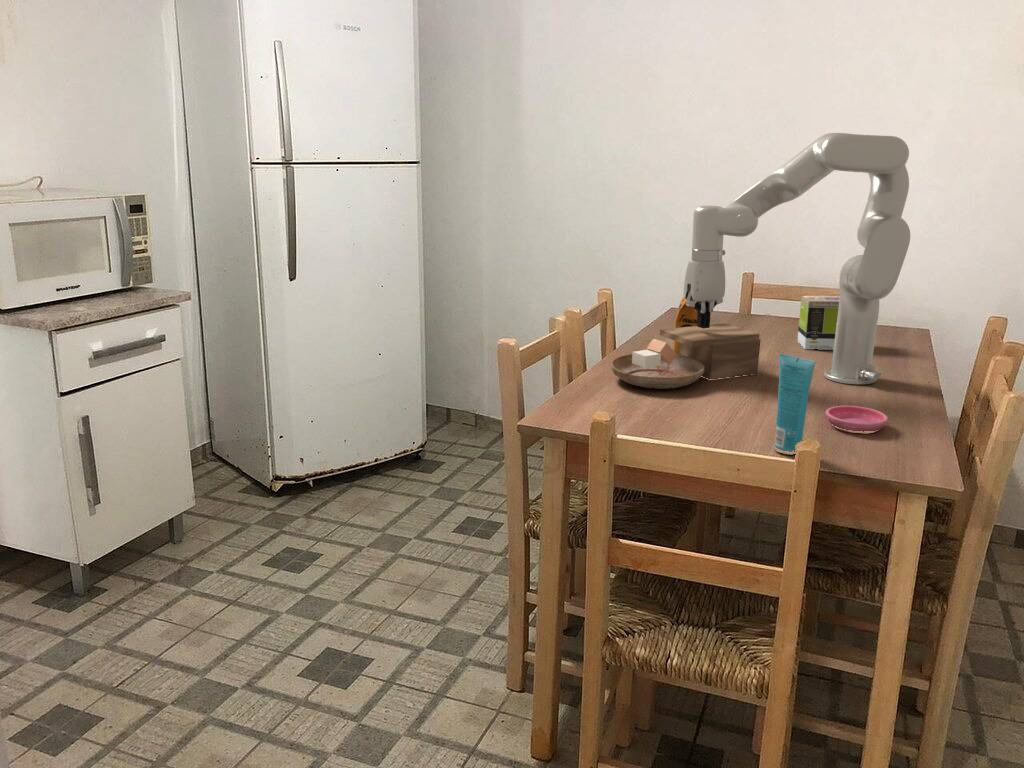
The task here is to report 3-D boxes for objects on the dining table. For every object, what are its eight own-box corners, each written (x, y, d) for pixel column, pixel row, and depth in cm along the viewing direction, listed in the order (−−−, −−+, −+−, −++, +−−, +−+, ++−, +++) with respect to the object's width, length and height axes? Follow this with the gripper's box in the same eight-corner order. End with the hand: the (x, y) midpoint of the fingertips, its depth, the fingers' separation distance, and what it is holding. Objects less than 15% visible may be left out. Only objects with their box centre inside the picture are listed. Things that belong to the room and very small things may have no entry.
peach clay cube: (666, 342, 209) (659, 352, 209) (676, 354, 212) (670, 363, 212) (653, 338, 213) (646, 348, 213) (663, 349, 216) (657, 359, 216)
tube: (810, 453, 165) (821, 358, 160) (799, 459, 162) (810, 363, 156) (774, 443, 170) (784, 351, 164) (763, 450, 166) (773, 356, 161)
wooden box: (757, 374, 220) (761, 333, 217) (689, 383, 211) (692, 341, 208) (723, 362, 232) (726, 323, 229) (657, 370, 223) (660, 329, 220)
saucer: (817, 429, 179) (819, 415, 178) (832, 414, 189) (833, 401, 188) (879, 441, 172) (881, 427, 172) (891, 425, 182) (893, 411, 181)
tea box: (847, 343, 255) (853, 295, 250) (856, 351, 245) (863, 301, 241) (796, 342, 256) (801, 294, 252) (803, 350, 246) (809, 300, 242)
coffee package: (667, 359, 234) (672, 281, 228) (675, 349, 245) (680, 274, 239) (703, 363, 230) (709, 283, 224) (710, 353, 242) (715, 276, 235)
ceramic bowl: (594, 374, 219) (594, 356, 218) (672, 367, 227) (673, 349, 226) (637, 400, 198) (638, 379, 197) (721, 390, 206) (723, 371, 205)
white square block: (645, 356, 207) (644, 367, 207) (661, 353, 209) (660, 365, 210) (632, 351, 211) (631, 363, 211) (647, 349, 213) (647, 360, 214)
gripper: (721, 252, 218) (717, 321, 223) (673, 256, 212) (670, 327, 217) (740, 255, 211) (736, 327, 216) (691, 259, 205) (687, 333, 210)
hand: (703, 327), depth 217 cm, fingers closed
